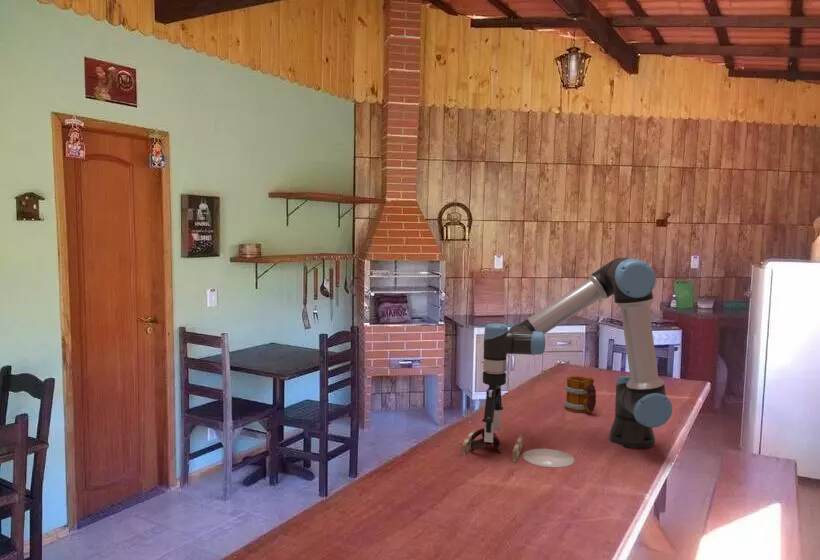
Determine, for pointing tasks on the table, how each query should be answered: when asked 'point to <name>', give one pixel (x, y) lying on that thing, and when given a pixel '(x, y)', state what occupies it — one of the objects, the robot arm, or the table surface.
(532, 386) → the table surface
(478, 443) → the pottery mug
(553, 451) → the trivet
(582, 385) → the mug
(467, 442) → the pair of beige bars
